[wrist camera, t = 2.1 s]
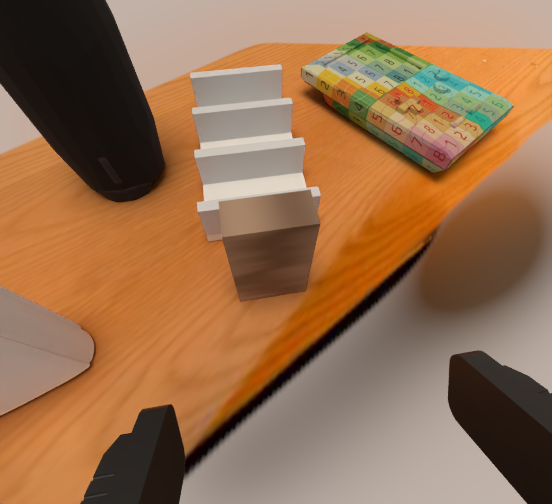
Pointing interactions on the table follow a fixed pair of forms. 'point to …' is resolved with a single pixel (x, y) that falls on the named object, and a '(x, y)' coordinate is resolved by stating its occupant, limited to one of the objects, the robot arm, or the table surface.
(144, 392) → the table surface
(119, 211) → the table surface
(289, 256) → the walnut block
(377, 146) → the table surface
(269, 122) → the slotted rack
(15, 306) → the photo printer
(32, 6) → the portable speaker
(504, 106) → the puzzle game
